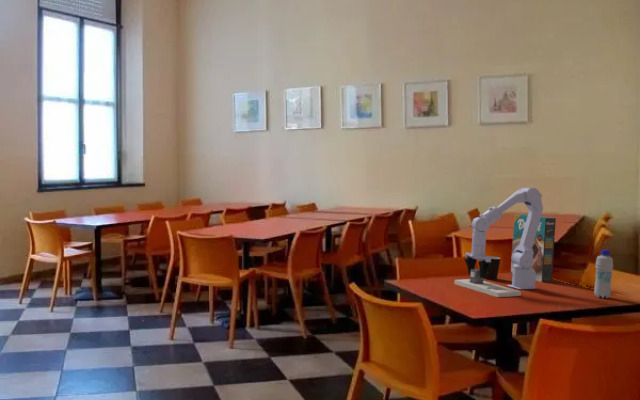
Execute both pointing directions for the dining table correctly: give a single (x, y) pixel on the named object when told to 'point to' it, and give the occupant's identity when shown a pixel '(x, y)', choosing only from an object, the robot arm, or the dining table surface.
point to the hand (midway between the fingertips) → (476, 276)
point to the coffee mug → (493, 268)
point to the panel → (489, 288)
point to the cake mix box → (538, 245)
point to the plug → (475, 276)
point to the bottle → (603, 274)
